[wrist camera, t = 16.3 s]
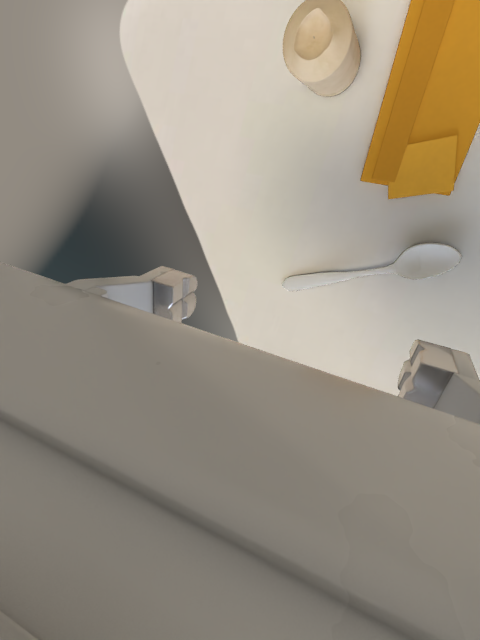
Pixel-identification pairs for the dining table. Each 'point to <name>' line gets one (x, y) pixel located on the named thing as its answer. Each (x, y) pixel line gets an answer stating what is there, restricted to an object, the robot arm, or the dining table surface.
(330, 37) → the candle
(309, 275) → the spoon
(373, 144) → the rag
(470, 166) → the dining table surface
